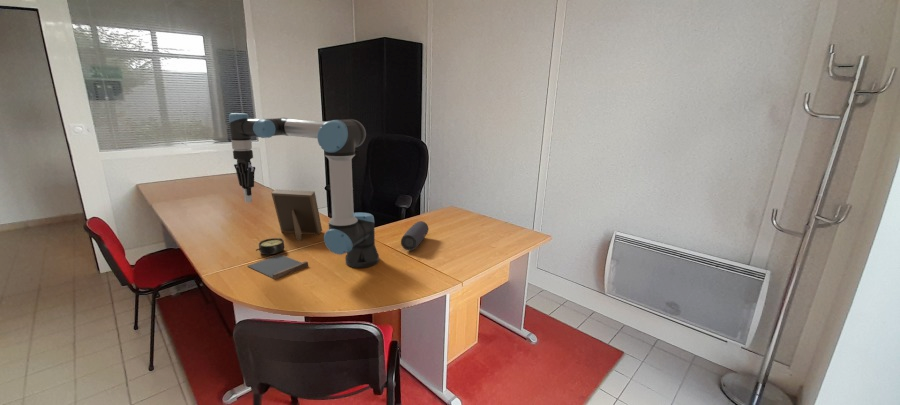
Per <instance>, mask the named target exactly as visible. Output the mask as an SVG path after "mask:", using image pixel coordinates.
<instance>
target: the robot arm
mask: <svg viewBox="0 0 900 405" xmlns="http://www.w3.org/2000/svg"><path fill="white" fill-rule="evenodd" d="M228 124H229V132H230V139H231V147H232V148H231V149H232V154H233V156H232V157H233V160H236V163H235V164H233V166H234V169H235V172H236V176H237V180H238V183H239V186H240V187H241V188H242V191H243V192H242V193H243V198H244V203H245V204H248V203H252V202H253V196H252V193H253V192H252V188H254V187H255V171H256V167H255V166H252V162H251V160H252V159H254V151H253V150H252V149H253V145H252V143H253V141H252V138H253V137H254V138H262V139H268V138H272V137H276V136H286V137H287V136H288V137H300V138H311V139H317V143H318V145H319V146H320V148H321V150H323V151H324V156H325V157H326V158H327V159H328V166H329V167H328V168H329V183H330V184H329V185H330V186H329V187H330V199H331V201H330V202H331V216H332V217H331V218H329V220H328V230H326V232H325V233H324V235H323V242H324V244H325V246H326V248H327V249H328V250H329V251H330V252H331V253H333V254H335V255H344V254H346V256H345V265H347V267H348V266H349V267H351V268H355V269H356V268H357V269H364V268H370V267H373V266H375V265H377V264H378V263H379V262H380V255H379V252H378V250H377V248H376V245H375V244H376V242H375V240H376V239H375V234H376V233H375V217H374V215H373V214H372V213H369V212H354V191H353V190H354V188H353V168H352V167H353V166H352V165H353V163H352V161H353V160H352V159H353V158H354V157H355V156H356V148H358V147H360V146H362V144H363V143H364V142H365V140H366V137H367V132H366V129H365V128H366V127H364V125H363V124H362V123H361V122H360V121H358V120H356V119H353V118H348V119H332V120H328V121H324V120H323V121H322V120H312V119H311V120H309V119H295V118H289V117H280V118H279V117H278V118H250V117H249V114H248V113H244V112H243V113H240V112H234V113H233V112H231V113H229V115H228Z"/></svg>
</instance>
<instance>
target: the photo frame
mask: <svg viewBox="0 0 900 405" xmlns="http://www.w3.org/2000/svg"><path fill="white" fill-rule="evenodd" d="M271 197H272V202H273V205H274V208H275V209H274V210H275V212H276V216H277V221H278V224H279V229H280V232H281V233H288V234H295V239H296V240H298V241H302V237H303V236H302V234H304V235H315V236H316V235H320V234H321V233H322V231H323V227H322V223H321V218H320V212H319V208H318V202H317V196H316V191H313V190H312V191H311V190H293V189H291V190H290V189H278V188H277V189H276V188H275V189H274V190H273V191H272V192H271Z"/></svg>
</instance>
